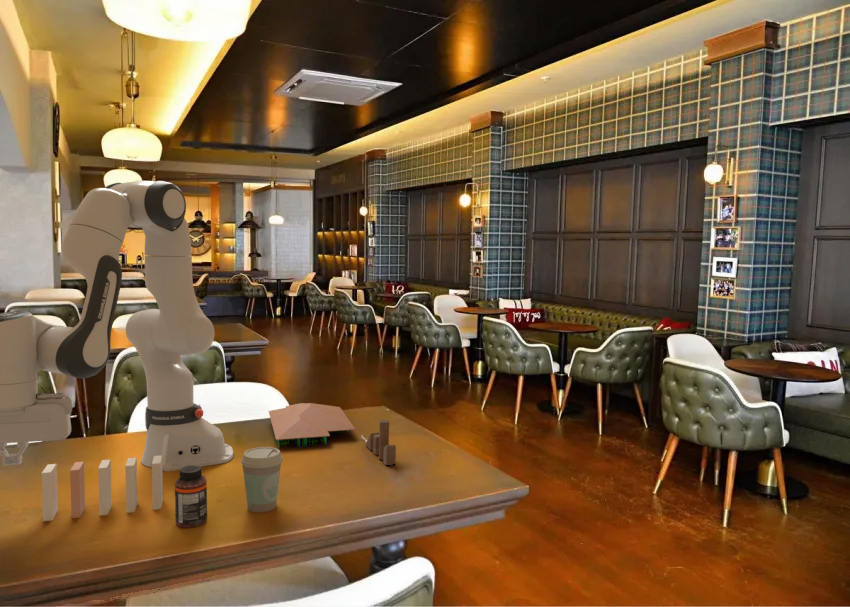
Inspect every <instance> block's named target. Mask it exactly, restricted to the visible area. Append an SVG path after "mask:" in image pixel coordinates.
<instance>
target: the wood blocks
mask: <svg viewBox="0 0 850 607" xmlns="http://www.w3.org/2000/svg"><path fill="white" fill-rule="evenodd" d="M378 430H379V432H373V433H370V434H369V436H368V439H366V438H365V437H364V436H363V434H361V435H360V437H361V439H362V440H364V442H365V447H366V448H368V449H369V450H370V451H372V454H374V455H375V456H378V459H379V460H380V459H381V460H380V461H382V462H383V464H384V465H385V466H386V465H390V466H394V465H393V464H395V465H396V458H397V455H396V454H397V453H396V452H397V447H396V445H395V444H389V443H390V442H389V441H390V421H389V420H387V419H382V420H380V421H379V429H378Z"/></svg>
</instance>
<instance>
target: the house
mask: <svg viewBox="0 0 850 607" xmlns="http://www.w3.org/2000/svg"><path fill="white" fill-rule="evenodd" d="M268 414H269V418H270V422H271V425H272V430H273V433H274V437H275V440H276V443H277V447H278V448H280V445H281V444H282V445H284V444H285V445H286V443H288V442H287V440H296V444H297V446H298V448H301V439H303V448H305V447H306V448H307V447H308V444H307V443H308V442H309V447H310V445H312V447H314V446H316V442H317V440H316V438H321V439H322V441H323V443H324V445H325V446H327V443H328V442H327V441H328V440H327V437H330V436H331V435H330V432H339V433H340V435H341V431H342V432H344V431H345V432H346V431H347V432H348V433H349V432H350V431H354V430H356V428H355V427H354V425H353V424H352V422H351V421H350V419H349V418H348V417H347V415H346V414H345V412H344V411H343V409H342V408H341V406H334V405H327V404H318V403H314V402H313V403H312V402H308V403H306V402H301V403H295V404H290V405H286V406H285V407H283V408H277V409H273V410H268ZM347 432H346V433H347ZM311 438H312V441H311V440H308V439H311ZM314 438H315V440H314ZM280 441H282V443H281V442H280ZM310 442H312V444H310ZM314 443H315V445H314V446H313V444H314Z"/></svg>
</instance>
